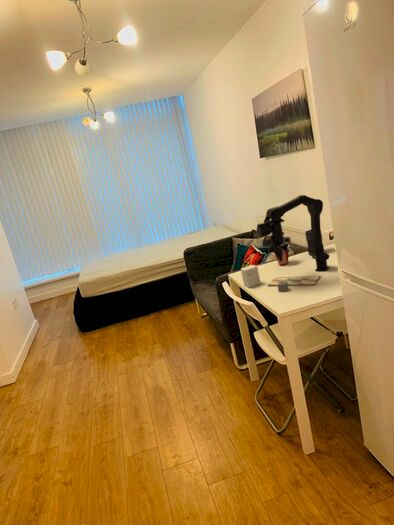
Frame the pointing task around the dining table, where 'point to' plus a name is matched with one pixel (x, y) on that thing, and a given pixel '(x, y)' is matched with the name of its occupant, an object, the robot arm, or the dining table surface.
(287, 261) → the plastic cup
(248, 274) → the small box
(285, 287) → the die
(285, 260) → the pawn
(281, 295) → the dining table surface
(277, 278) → the board
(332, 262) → the dining table surface
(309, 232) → the storage jar
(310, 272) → the dining table surface
